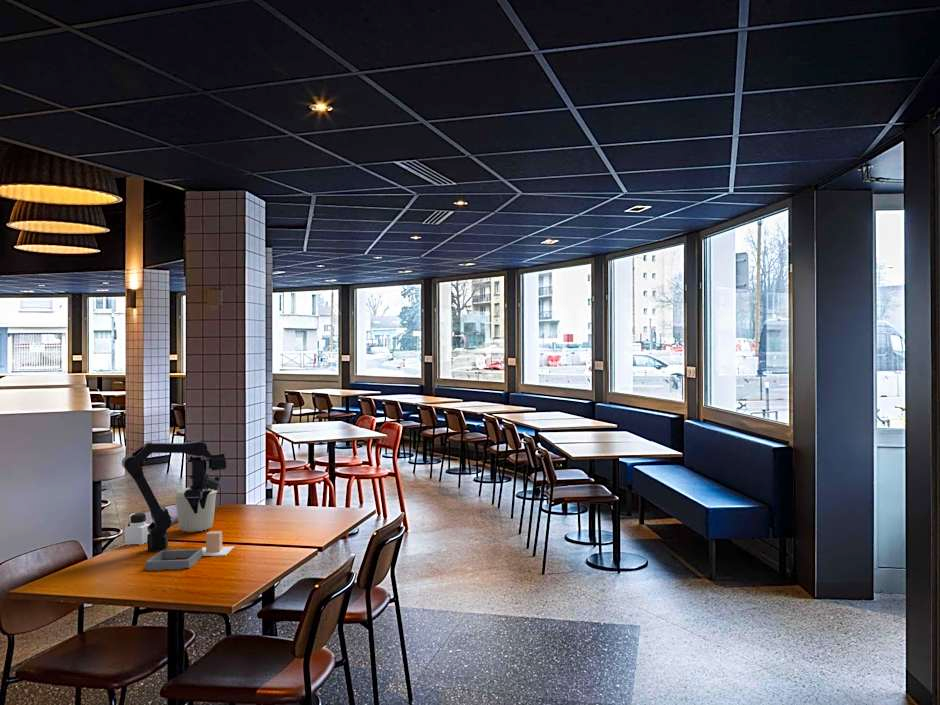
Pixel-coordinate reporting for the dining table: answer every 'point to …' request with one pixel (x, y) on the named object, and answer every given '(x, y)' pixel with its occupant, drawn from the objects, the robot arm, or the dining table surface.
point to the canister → (189, 518)
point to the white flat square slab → (223, 552)
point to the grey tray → (161, 564)
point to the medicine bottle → (136, 529)
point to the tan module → (214, 541)
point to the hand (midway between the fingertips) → (199, 510)
